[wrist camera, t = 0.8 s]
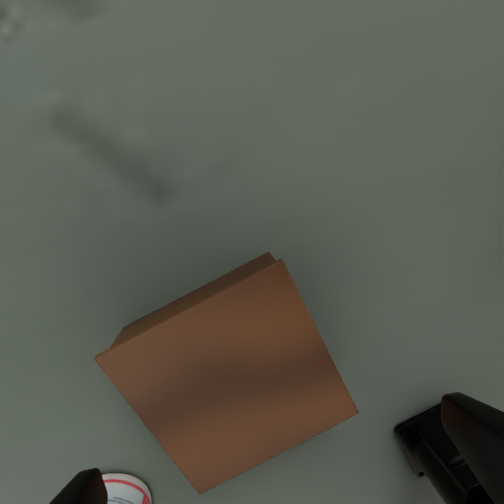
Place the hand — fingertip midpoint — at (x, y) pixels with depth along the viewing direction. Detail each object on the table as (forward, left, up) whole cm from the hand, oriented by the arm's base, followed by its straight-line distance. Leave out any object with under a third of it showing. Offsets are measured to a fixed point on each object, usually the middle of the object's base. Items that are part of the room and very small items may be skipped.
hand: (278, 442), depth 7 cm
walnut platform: (-5, +3, -14) cm, 15 cm away
